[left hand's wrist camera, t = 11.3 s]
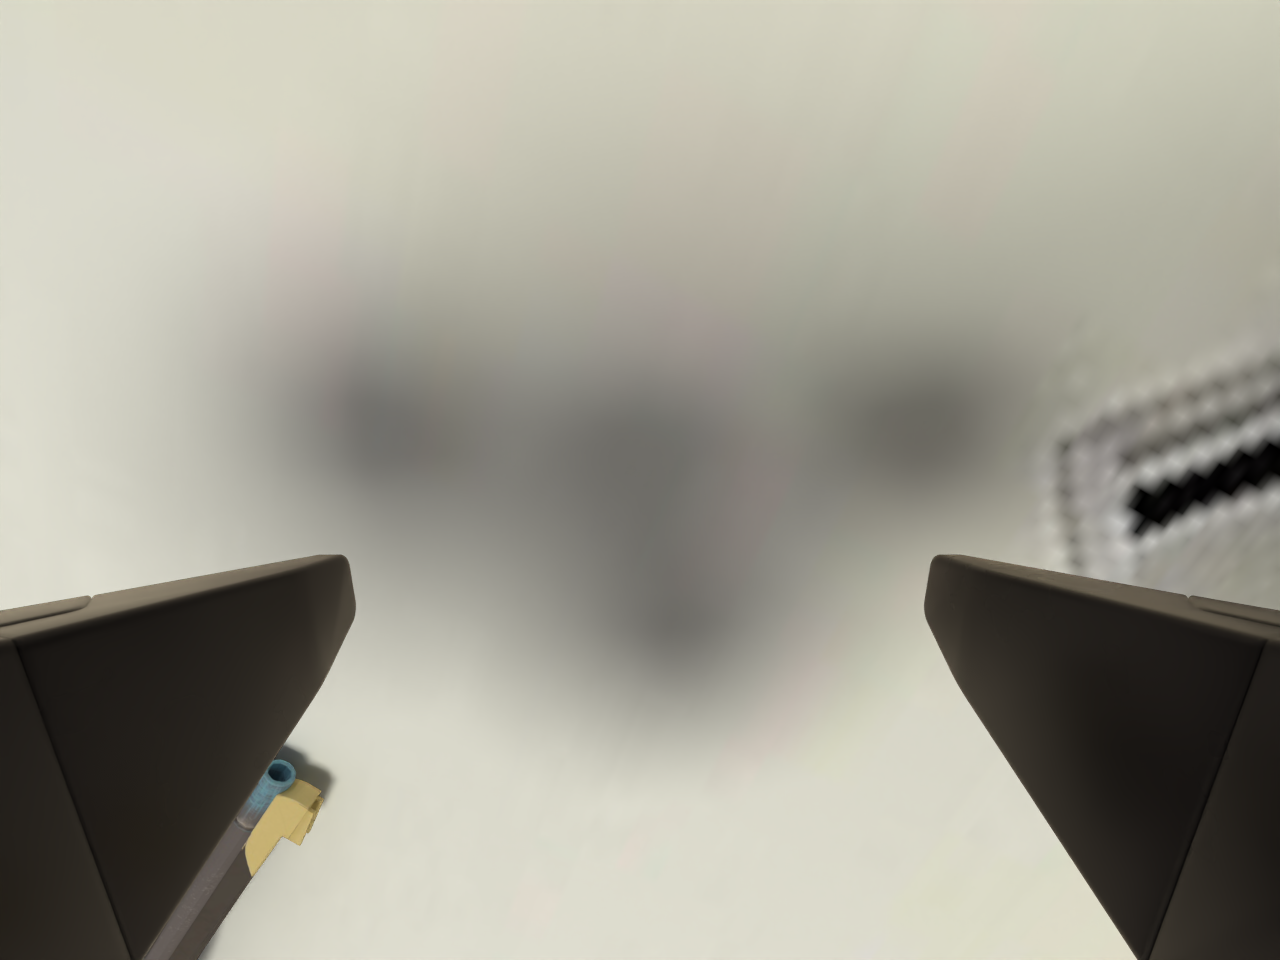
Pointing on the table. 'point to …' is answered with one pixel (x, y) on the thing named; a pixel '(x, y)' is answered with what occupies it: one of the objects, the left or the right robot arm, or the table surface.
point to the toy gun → (238, 860)
